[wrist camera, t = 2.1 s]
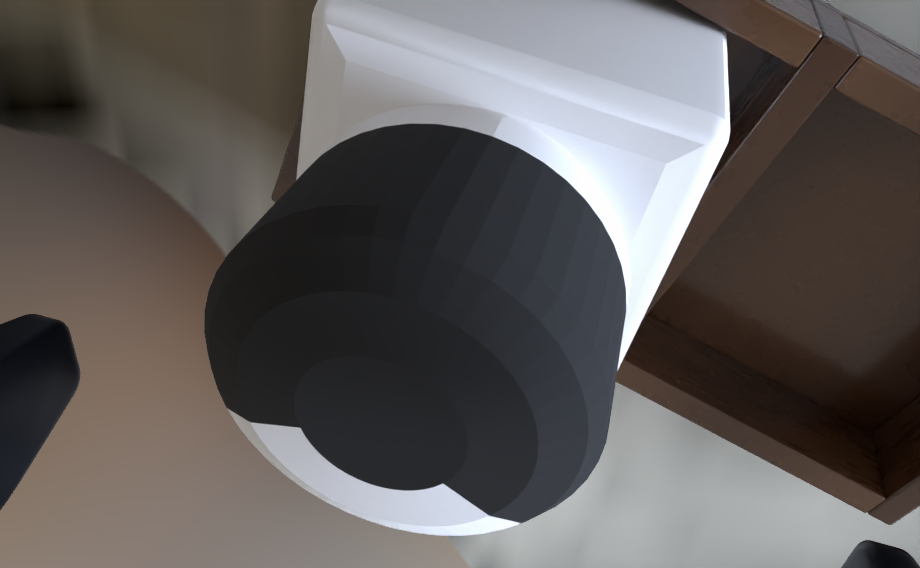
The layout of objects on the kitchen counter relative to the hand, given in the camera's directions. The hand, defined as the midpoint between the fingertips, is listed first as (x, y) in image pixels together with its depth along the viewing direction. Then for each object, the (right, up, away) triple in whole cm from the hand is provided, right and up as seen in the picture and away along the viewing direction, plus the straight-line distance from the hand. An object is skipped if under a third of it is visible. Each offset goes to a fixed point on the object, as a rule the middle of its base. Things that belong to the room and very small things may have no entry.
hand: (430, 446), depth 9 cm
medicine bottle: (+2, +7, +12) cm, 14 cm away
